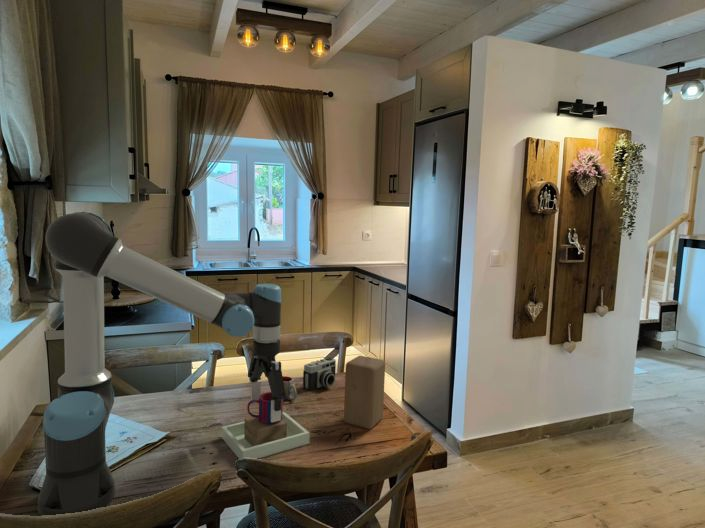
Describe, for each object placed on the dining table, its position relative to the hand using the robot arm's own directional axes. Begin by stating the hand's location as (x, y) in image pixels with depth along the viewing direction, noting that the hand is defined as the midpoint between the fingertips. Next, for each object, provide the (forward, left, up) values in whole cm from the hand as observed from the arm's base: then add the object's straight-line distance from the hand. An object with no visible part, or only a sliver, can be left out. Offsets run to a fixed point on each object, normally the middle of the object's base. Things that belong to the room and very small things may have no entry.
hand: (265, 411), depth 134 cm
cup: (0, +1, -3) cm, 3 cm away
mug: (+20, +25, -10) cm, 34 cm away
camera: (+37, +28, -10) cm, 47 cm away
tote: (0, 0, -9) cm, 10 cm away
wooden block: (+33, -3, -10) cm, 35 cm away
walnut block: (0, 0, -9) cm, 9 cm away
